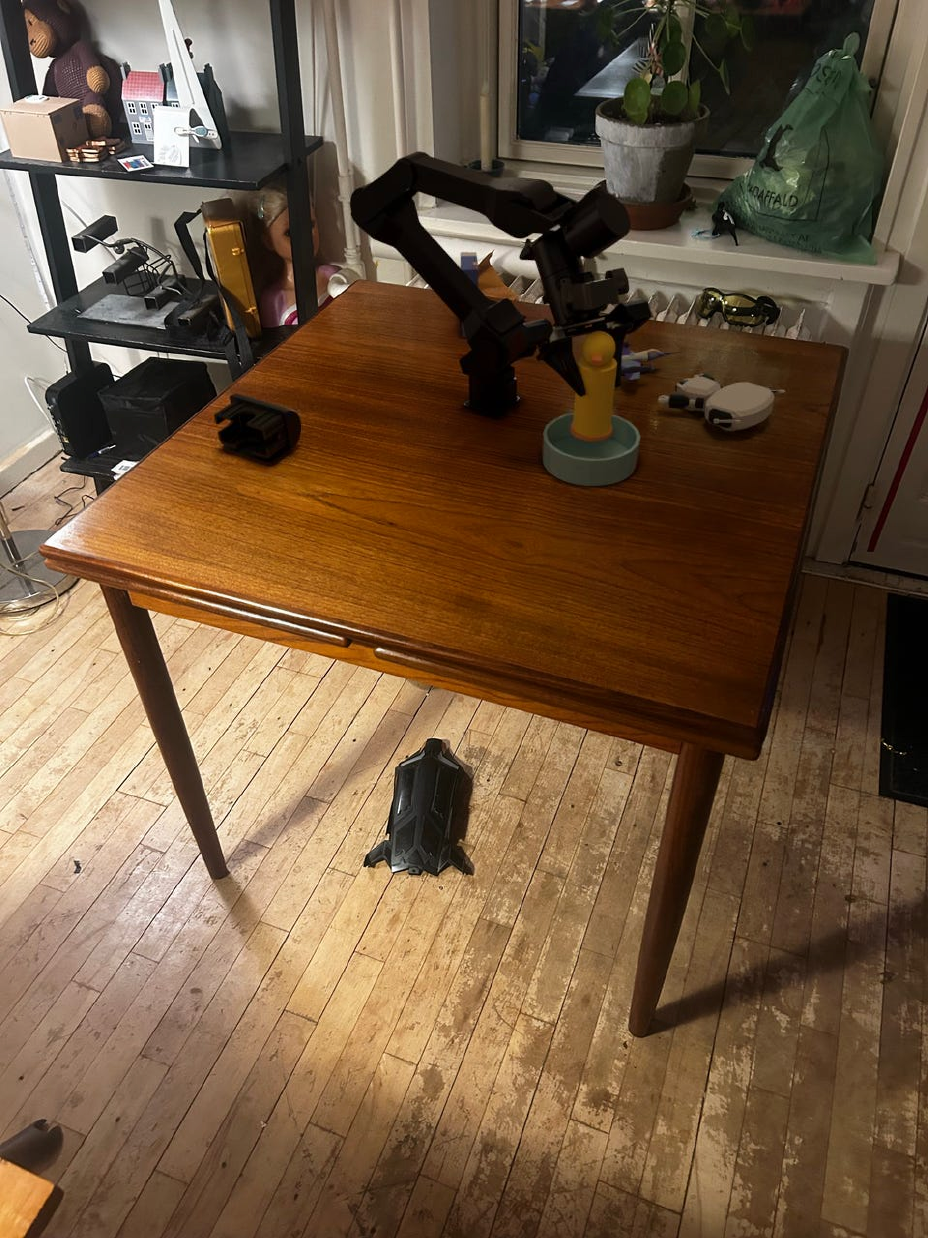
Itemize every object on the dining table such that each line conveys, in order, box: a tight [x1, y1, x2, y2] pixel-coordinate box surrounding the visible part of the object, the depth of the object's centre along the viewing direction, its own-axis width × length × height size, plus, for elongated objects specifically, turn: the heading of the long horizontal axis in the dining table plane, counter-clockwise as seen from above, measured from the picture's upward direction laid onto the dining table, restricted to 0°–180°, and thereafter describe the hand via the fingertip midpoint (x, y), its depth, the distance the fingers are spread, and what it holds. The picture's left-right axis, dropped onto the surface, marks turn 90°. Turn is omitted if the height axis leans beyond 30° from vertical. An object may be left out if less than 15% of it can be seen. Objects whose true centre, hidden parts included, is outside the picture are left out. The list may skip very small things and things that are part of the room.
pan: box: [541, 412, 641, 487], centre depth 127 cm, size 13×13×4 cm
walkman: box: [460, 251, 479, 338], centre depth 158 cm, size 8×3×12 cm, turn 1°
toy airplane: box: [621, 340, 682, 382], centre depth 147 cm, size 13×14×4 cm
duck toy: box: [571, 331, 617, 442], centre depth 121 cm, size 6×6×14 cm
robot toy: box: [657, 373, 786, 432], centre depth 136 cm, size 12×4×15 cm
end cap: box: [213, 393, 302, 467], centre depth 130 cm, size 10×7×7 cm
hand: (600, 391), depth 120 cm, fingers closed on duck toy, 5 cm apart
